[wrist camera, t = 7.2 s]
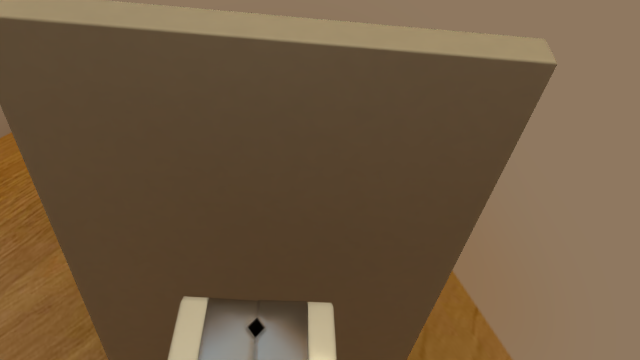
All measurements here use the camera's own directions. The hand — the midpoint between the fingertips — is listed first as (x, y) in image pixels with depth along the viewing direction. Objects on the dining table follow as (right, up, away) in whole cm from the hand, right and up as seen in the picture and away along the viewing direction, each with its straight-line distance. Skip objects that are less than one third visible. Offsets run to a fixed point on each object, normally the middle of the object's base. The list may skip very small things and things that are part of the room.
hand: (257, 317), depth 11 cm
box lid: (-1, +1, +7) cm, 7 cm away
